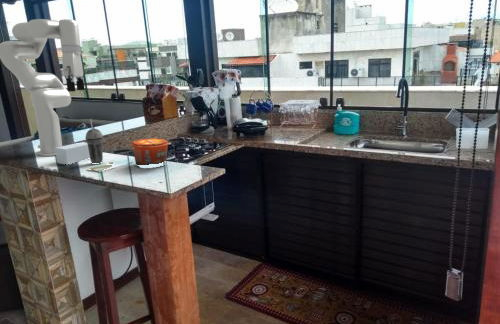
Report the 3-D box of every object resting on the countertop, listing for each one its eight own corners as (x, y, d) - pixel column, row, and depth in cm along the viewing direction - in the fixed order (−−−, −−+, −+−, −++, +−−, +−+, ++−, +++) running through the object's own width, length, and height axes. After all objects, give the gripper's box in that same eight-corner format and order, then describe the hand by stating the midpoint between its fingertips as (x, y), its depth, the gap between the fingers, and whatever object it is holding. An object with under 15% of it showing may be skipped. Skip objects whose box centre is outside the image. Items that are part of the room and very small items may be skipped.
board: (86, 170, 153) (86, 168, 152) (119, 160, 168) (119, 158, 168) (100, 172, 149) (100, 170, 149) (132, 162, 165) (132, 160, 164)
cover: (57, 163, 164) (55, 147, 162) (83, 156, 176) (81, 142, 174) (67, 164, 161) (65, 149, 159) (93, 158, 173) (92, 143, 171)
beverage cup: (109, 161, 166) (104, 118, 161) (98, 165, 159) (93, 120, 154) (95, 160, 168) (90, 117, 163) (84, 164, 161) (79, 119, 156)
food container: (177, 163, 163) (176, 140, 161) (149, 172, 150) (148, 146, 148) (152, 158, 172) (151, 136, 169) (124, 166, 159) (122, 142, 156)
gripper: (71, 51, 166) (76, 89, 170) (52, 49, 149) (58, 91, 153) (88, 51, 166) (92, 89, 170) (71, 49, 149) (76, 91, 154)
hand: (76, 90), depth 162 cm, fingers open, 9 cm apart
